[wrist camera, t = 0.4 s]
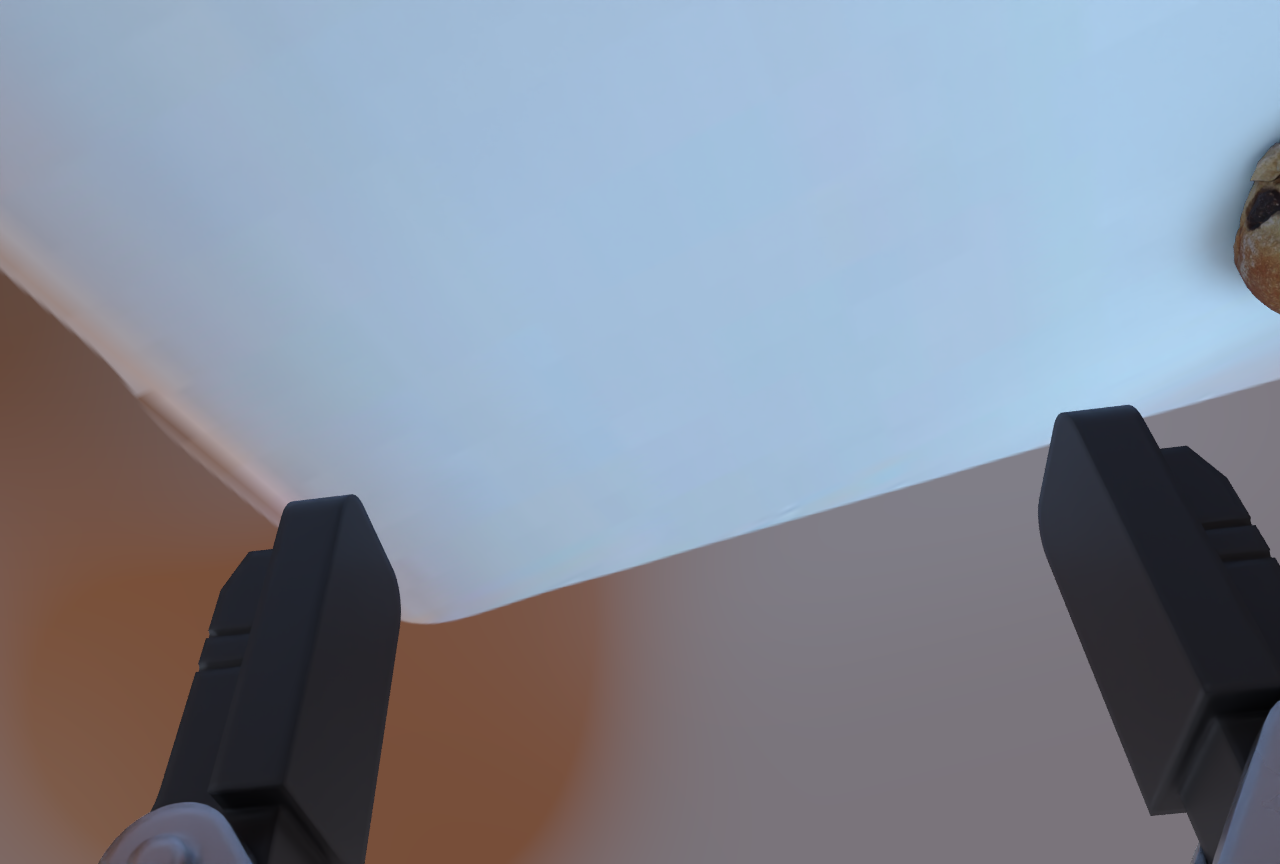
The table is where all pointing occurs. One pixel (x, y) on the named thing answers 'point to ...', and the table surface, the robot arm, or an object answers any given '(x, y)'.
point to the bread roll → (1262, 232)
